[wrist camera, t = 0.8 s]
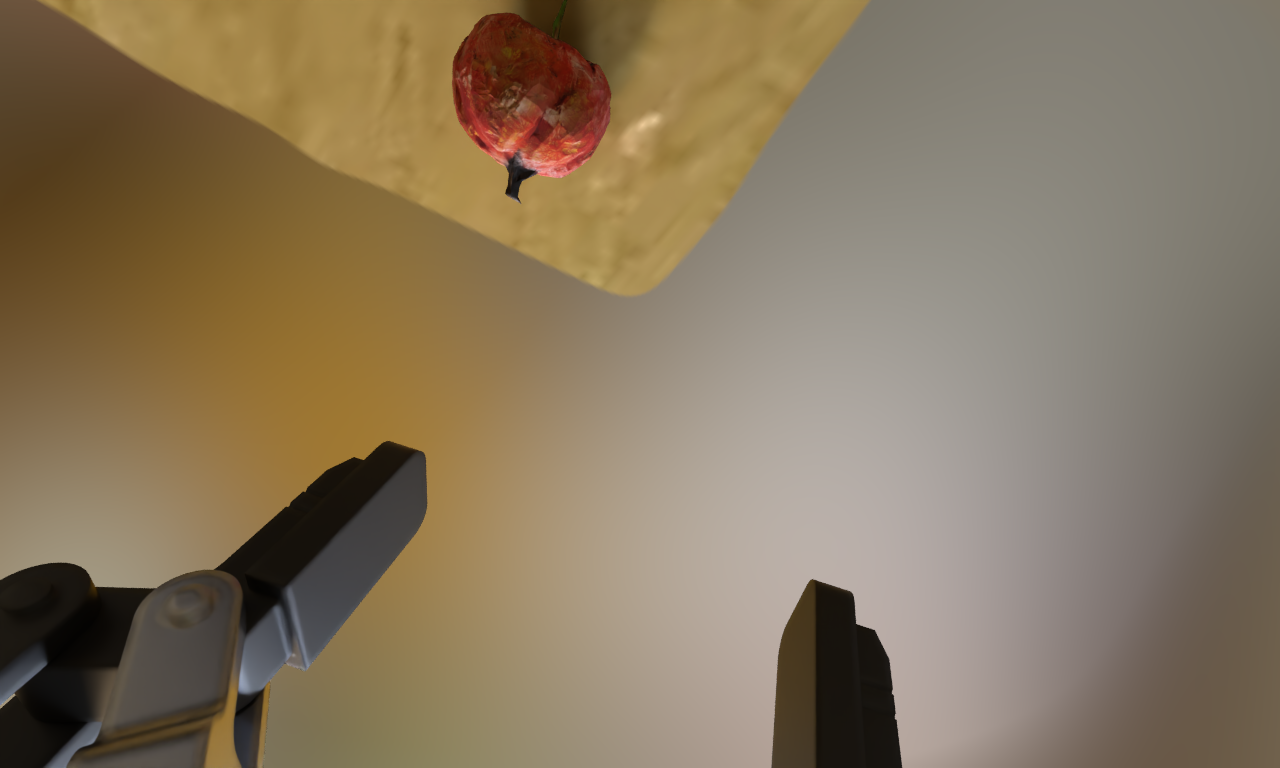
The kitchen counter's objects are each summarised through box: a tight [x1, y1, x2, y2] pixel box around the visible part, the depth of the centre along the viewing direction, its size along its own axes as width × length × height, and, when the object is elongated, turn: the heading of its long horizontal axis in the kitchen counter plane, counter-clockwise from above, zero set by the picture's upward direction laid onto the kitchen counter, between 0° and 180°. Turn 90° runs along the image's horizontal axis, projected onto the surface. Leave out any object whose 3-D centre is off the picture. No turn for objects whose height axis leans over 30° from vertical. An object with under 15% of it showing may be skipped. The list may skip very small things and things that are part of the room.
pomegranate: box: [452, 0, 611, 203], centre depth 28 cm, size 7×7×10 cm
